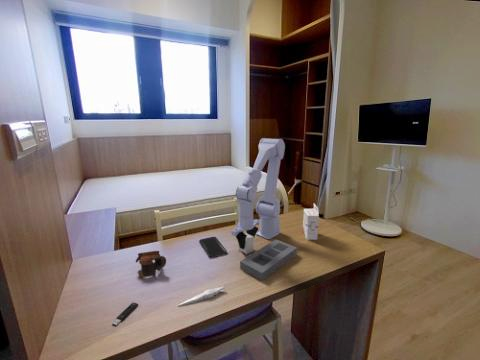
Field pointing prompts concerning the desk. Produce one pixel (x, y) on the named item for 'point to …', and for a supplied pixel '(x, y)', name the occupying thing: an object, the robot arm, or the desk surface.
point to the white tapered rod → (204, 295)
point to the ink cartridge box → (311, 223)
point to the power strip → (268, 259)
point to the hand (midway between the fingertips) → (246, 245)
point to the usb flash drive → (125, 313)
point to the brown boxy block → (150, 263)
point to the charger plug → (248, 244)
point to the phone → (212, 247)
